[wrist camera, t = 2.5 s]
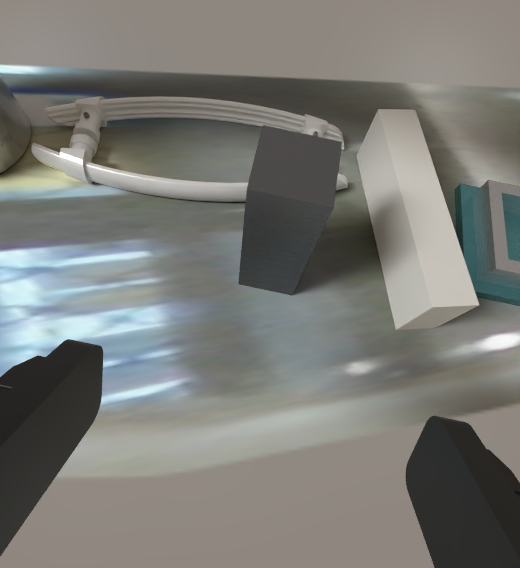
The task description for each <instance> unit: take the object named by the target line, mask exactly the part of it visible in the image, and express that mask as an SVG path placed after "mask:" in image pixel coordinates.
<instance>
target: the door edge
mask: <svg viewBox="0 0 520 568" xmlns="http://www.w3.org/2000/svg"><path fill="white" fill-rule="evenodd" d="M357 161H358V165H359V170H360V174H361V179H362V183H363V187H364V192H365V196H366V201H367V205H368V209H369V214H370V218H371V223H372V227H373V231H374V236H375V240H376V245H377V249H378V253H379V258H380V262H381V267H382V271H383V275H384V280H385V284H386V289H387V293H388V298H389V302H390V306H391V311H392V315H393V320H394V324H395V328H396V330H407V329H427V328H436V327H438V326H440V325H442V324H444V323H446V322H448V321H450V320H452V319H454V318H455V317H457V316H459V315H461V314H463V313H465V312H467V311H469V310H471V309H473V308H475V307H477V306H479V303H478V300H477V296H476V293H475V290H474V287H473V284H472V281H471V278H470V275H469V272H468V269H467V266H466V263H465V260H464V257H463V254H462V251H461V248H460V245H459V241H458V238H457V235H456V232H455V229H454V226H453V223H452V220H451V217H450V214H449V211H448V208H447V205H446V202H445V199H444V196H443V193H442V189H441V186H440V183H439V180H438V177H437V174H436V171H435V168H434V165H433V162H432V159H431V156H430V153H429V150H428V147H427V144H426V141H425V138H424V134H423V131H422V128H421V125H420V122H419V119H418V116H417V113H416V110H402V109H378V111H377V113H376V115H375V117H374V119H373V121H372V124H371V126H370V128H369V130H368V132H367V134H366V136H365V138H364V141H363V143H362V145H361V147H360V149H359V151H358V153H357Z"/></svg>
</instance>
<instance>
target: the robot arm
mask: <svg viewBox="0 0 520 568" xmlns="http://www.w3.org/2000/svg"><path fill="white" fill-rule="evenodd" d="M30 137H31V126H30V123H29V120H28V118H27V116H26V115H25V113H24V112H23V110H22V108H21V107H20V105H19V104H18V102H17V100H16V99H15V97H14V95H13V94H12V92H11V91H10V89H9V87H8V86H7V84H6V83H5V81H4V79H3V78H2V76H1V74H0V173H1V172H3V171H5V170H6V169H8V168H9V167H10V166H12V165H13V164H14V163H15V162H16V161H17V160H18V159H19V158H20V157H21V156H22V155H23V153H24V152H25V150H26V148H27V147H28V144H29V141H30ZM102 371H103V349H102V347H101V346H99V345H94V344H89V343H84V342H79V341H75V340H70V339H69V340H66V341H64V342H63V343H62V344H60V345H59V346H58V347H57V348H56V349H55V350H54V351H52V352H51V353H50V354H49V355H48V356H47V357H42V356H36V357H34V358H32V359H29V360H27V361H25V362H23V363H20V364H18V365H16V366H14V367H12V368H11V369H10V370H8V371H7V372H6V373H5V374H4V375H2V376H1V377H0V556H1V555H2V553H3V552H4V550H5V549H6V547H7V546H8V544H9V543H10V541H11V540H12V539H13V537H14V536H15V534H16V533H17V531H18V530H19V529H20V527H21V526H22V524H23V523H24V521H25V520H26V518H27V517H28V516H29V514H30V513H31V511H32V510H33V508H34V507H35V506H36V504H37V503H38V501H39V500H40V498H41V497H42V495H43V494H44V492H45V491H46V490H47V488H48V487H49V485H50V484H51V483H52V481H53V480H54V478H55V477H56V475H57V474H58V472H59V471H60V470H61V468H62V467H63V465H64V464H65V462H66V461H67V459H68V458H69V457H70V455H71V454H72V452H73V451H74V449H75V448H76V446H77V445H78V444H79V442H80V441H81V439H82V438H83V436H84V435H85V434H86V432H87V431H88V429H89V428H90V426H91V425H92V423H93V422H94V420H95V418H96V415H97V413H98V410H99V407H100V403H101V396H102ZM406 485H407V489H408V493H409V495H410V498H411V501H412V504H413V507H414V510H415V513H416V516H417V519H418V521H419V524H420V527H421V530H422V532H423V536H424V538H425V541H426V544H427V547H428V550H429V553H430V556H431V558H432V561H433V564H434V567H435V568H520V483H519V481H518V480H517V478H516V477H515V475H514V474H513V473H512V471H511V470H510V469H509V468H508V467H507V466H506V465H505V464H504V463H503V462H502V461H500V460H499V459H498V458H497V457H496V456H495V455H494V454H493V453H492V452H491V451H490V450H487V449H486V448H485V446H484V445H483V443H482V442H481V440H480V439H479V437H478V436H477V434H476V433H475V431H474V430H473V428H472V427H471V426H470V425H469V424H468V423H466V422H462V421H457V420H452V419H447V418H442V417H437V416H432V417H430V418H429V419H428V421H427V422H426V424H425V427H424V429H423V431H422V433H421V435H420V437H419V439H418V441H417V444H416V446H415V448H414V450H413V452H412V454H411V456H410V458H409V461H408V464H407V467H406Z"/></svg>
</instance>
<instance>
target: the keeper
mask: <svg viewBox="0 0 520 568" xmlns="http://www.w3.org/2000/svg"><path fill="white" fill-rule="evenodd" d="M455 202H456V228H457V238H458V241H459V245H460V248H461V251H462V254H463V257H464V260H465V263H466V266H467V269H468V272H469V275H470V278H471V281H472V284H473V287H474V290H475V293H476V296H477V297H480V298H485V299H489V300H494V301H499V302H504V303H509V304H513V305H518V306H520V187H519V186H515V185H510V184H505V183H500V182H496V181H491V180H488V181H487V182H486V183H485V184H484V185H483V186H482V187H481V188H479V187H474V186H469V185H465V184H460V185H459V186H458V187H457V188H456V189H455Z"/></svg>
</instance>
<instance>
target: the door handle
mask: <svg viewBox="0 0 520 568" xmlns="http://www.w3.org/2000/svg"><path fill="white" fill-rule="evenodd" d="M45 111H46V113H47V114H48V117H49V118H51V119H53V120H54V121H55V122H56V123H58V124H59V123H61V124H64V125H66V126H75V127H74V130H73V136H72V137H71V140H70V148H61V150H60V153H59V152H57V151H54V150H52V149H49V148H46V147H44V146H41V145H39V144H36V143H33V144H32V146H31V150H32V153H33V155H34V156H35V157H36V158H37V159H38V160H39V161H40V162H42V163H43V164H45V165H47V166H49V167H52V168H54V169H57V170H59V171H62V172H64V173H66V174H67V175H68V176H69V177H72V178H75V179H78V180H81V181H83V182H86V183H89V184H92V182H96V183H100V184H103V185H107V186H111V187H115V188H118V189H123V190H128V191H133V192H138V193H143V194H148V195H155V196H162V197H168V198H176V199H186V200H197V201H220V202H246V193H247V186H248V183H216V182H196V181H186V180H175V179H168V178H161V177H154V176H148V175H142V174H137V173H132V172H127V171H122V170H117V169H113V168H109V167H106V166H102V165H98V164H94V163H92V162H91V160H92V157H94V156H95V154H96V151H97V148H98V146H97V144H98V143H99V140H100V131H99V129H100V127H106V125H107V122H108V121H113V120H126V119H141V118H192V119H208V120H218V121H227V122H235V123H241V124H247V125H253V126H259V127H262V126H263V125H266V126H270V127H275V128H280V129H285V130H289V131H294V132H299V133H303V134H308V135H313V136H318V137H322V138H327V139H332V140H336V141H341V142H342V146H341V150H343V151H344V140H343V135H342V133H341V131H340V130H339V129H338V128H337V127H336V126H334V125H331V124H328V123H327V121H326V120H323V119H320V118H317V117H314V116H311V115H308V114H305V115H304V116H301V115H297V114H294V113H290V112H286V111H282V110H277V109H272V108H268V107H263V106H258V105H252V104H245V103H239V102H233V101H224V100H215V99H206V98H191V97H127V98H114V99H105V98H104V97H103V96H97V97H90V98H83V99H76V101H75V103H69V104H63V105H57V106H51V107H45ZM344 188H348V184H347V179H346V178H345V175H341V174H340V173H338V177H337V185H336V190H340V189H344Z"/></svg>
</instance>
